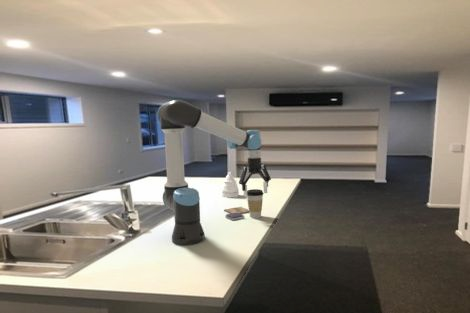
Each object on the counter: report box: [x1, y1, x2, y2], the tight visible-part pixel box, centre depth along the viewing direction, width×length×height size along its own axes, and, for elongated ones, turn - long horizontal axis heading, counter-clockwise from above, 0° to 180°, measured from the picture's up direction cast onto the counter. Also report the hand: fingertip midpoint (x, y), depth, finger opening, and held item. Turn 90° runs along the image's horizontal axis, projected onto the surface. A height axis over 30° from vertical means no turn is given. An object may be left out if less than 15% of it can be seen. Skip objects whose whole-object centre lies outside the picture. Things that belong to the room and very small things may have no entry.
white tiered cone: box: [221, 171, 240, 199], centre depth 240 cm, size 13×13×18 cm
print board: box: [223, 206, 250, 215], centre depth 195 cm, size 12×12×1 cm
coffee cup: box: [247, 188, 264, 219], centre depth 182 cm, size 10×10×15 cm
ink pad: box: [224, 213, 245, 221], centre depth 182 cm, size 8×8×2 cm
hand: (255, 194), depth 182 cm, fingers open, 13 cm apart
